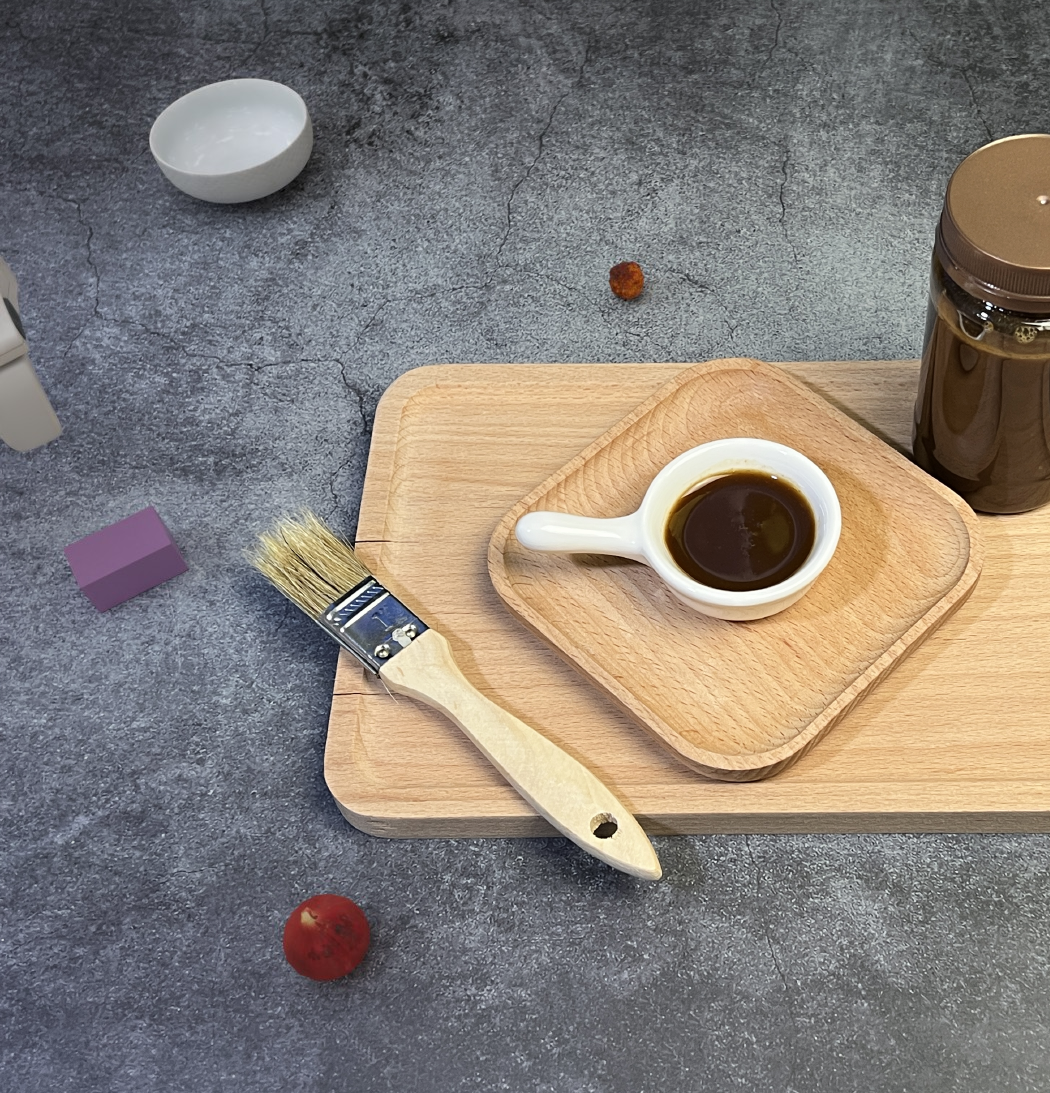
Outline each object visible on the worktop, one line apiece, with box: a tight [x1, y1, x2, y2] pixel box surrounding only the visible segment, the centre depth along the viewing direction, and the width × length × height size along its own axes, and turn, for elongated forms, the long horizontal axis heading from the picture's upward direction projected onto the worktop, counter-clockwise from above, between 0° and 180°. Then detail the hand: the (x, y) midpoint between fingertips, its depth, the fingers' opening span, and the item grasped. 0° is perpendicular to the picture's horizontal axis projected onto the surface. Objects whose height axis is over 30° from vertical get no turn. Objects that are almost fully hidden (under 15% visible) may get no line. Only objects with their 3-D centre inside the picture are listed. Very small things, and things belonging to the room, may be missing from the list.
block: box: [62, 505, 190, 614], centre depth 112 cm, size 5×8×4 cm, turn 123°
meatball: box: [608, 261, 645, 300], centre depth 130 cm, size 4×4×4 cm
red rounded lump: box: [282, 893, 371, 982], centre depth 91 cm, size 6×6×8 cm
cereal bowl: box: [148, 78, 314, 204], centre depth 141 cm, size 17×17×7 cm
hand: (38, 408), depth 108 cm, fingers closed
